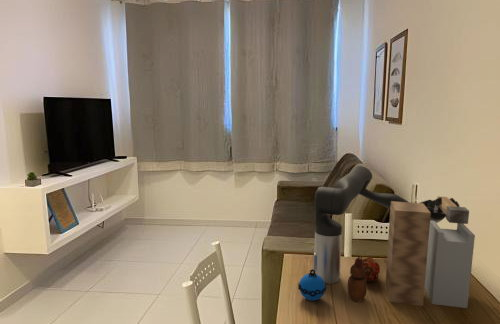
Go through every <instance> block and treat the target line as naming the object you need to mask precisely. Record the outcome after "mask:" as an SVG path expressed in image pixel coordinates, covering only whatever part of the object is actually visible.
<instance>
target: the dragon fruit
mask: <svg viewBox="0 0 500 324" xmlns="http://www.w3.org/2000/svg"><path fill="white" fill-rule="evenodd" d="M362 266H364V268H365V276H364V278H365V280H366V283H370V282H372V281H377V280H379V274H380V273H381V269H380V268H381V267H380V265H379V263H378V262H375V260H374V259H373V258H372V257H370V256H369V257H367V258H362Z"/></svg>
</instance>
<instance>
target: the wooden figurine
mask: <svg viewBox="0 0 500 324" xmlns="http://www.w3.org/2000/svg"><path fill="white" fill-rule="evenodd" d="M362 259H363V256H360V255H359V256H358V257H357V258H356V259H354V264H352V265H351V266H350V270H349V271H350V272H349V273H350V276H349V277H348V279H347V294H348V297H349V299H351V300H352V301H354V302H362V301H364V299H365V297H366V294H367V282H366V280H365V278H364V276H365V268H364V266H362Z"/></svg>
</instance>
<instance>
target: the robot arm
mask: <svg viewBox="0 0 500 324" xmlns="http://www.w3.org/2000/svg"><path fill="white" fill-rule="evenodd" d="M372 179H373V173H372V171H371V170H370V169H369V168H367V167H365V166H362V165H356V166H354V167H353V168H352V169H351V171H350V172H349V173H347V174H346V175H345V176H342V177H341V178H340V179H338V180H337V181H336V183H334V184H335V185H334V187H330V186H319V187H318V188H317V189H316V190H315V195H314V227H315V228H314V249H313V251H314V252H313V263H312V264H313V266H312V269H313V270H315V274H317V275H319V276H320V277H321V278H322V279H323V281H324V282H325V284H328V285H329V284H335V283H339V281H340V280H341V278H340V276H341V259H342V258H341V255H342V252H341V251H342V234H343V233H342V232H343V227H342V225H341V224H340V223H339V222H338V221H336V220H334V219H333V218H332V217H330V215H333V216H341V215H343V214H344V213H345V212H346V211H347V209H348V208H349V206H350V204H351V203H352V202H353V200H354V199H355V198H357V196H359V195H360V196H361V197H364V198H366V199H369V200H371V201H372V202H374V203H376V204H379V205H381V206H383V207H385V208H386V209H388V210H390V206H391V201H394V202H409V201H408V200H407V199H405V198H403V197H401V196H400V195H397V194H395V193H387V192H386V193H385V192H384V193H381V192H374V191H371V190H369V189H368V188H367V187H368V186H369V184H370V182H371V181H372ZM441 197H442V196H440V197H439V198H438V199H437V198H436V199H427V200H424V201H421V202H419V203H423V204H424V205H425V206H426V207H427V209H428V210H429V211H430V212H431V217H430V221H435V222H436V223H437V224H438V223H440V222H441V221H443V220H444V219H446V214H445V213H444V212H443V211H442V210H441V209H440V208H439V207H438V206H440V205H441V204H442V198H441ZM449 199H450V200H451V201H452V202H453V203H454V204H455V205H456V206H457V207H461V205H460V203H458V201H456V200H455V199H454V198H453V197H450V198H449ZM312 273H314V272H313V271H312Z"/></svg>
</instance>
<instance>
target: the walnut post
mask: <svg viewBox="0 0 500 324" xmlns="http://www.w3.org/2000/svg"><path fill="white" fill-rule="evenodd" d="M430 217H431V212H430V211H429V210H428V209H427V207H426V206H425V205H424V204H423V203H420V202H410V201H408V202H394V201H391V206H390V209H389V222H388V223H389V225H388V238H387V239H388V240H387V251H386V252H387V255H386V267H385V268H386V269H385V284H384V285H385V290H386V295H387V299H388V302H390V303H396V304H405V305H413V306H422V307H423V306H424V299H425V298H424V297H425V276H426V264H427V252H428V240H429V229H430Z"/></svg>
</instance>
